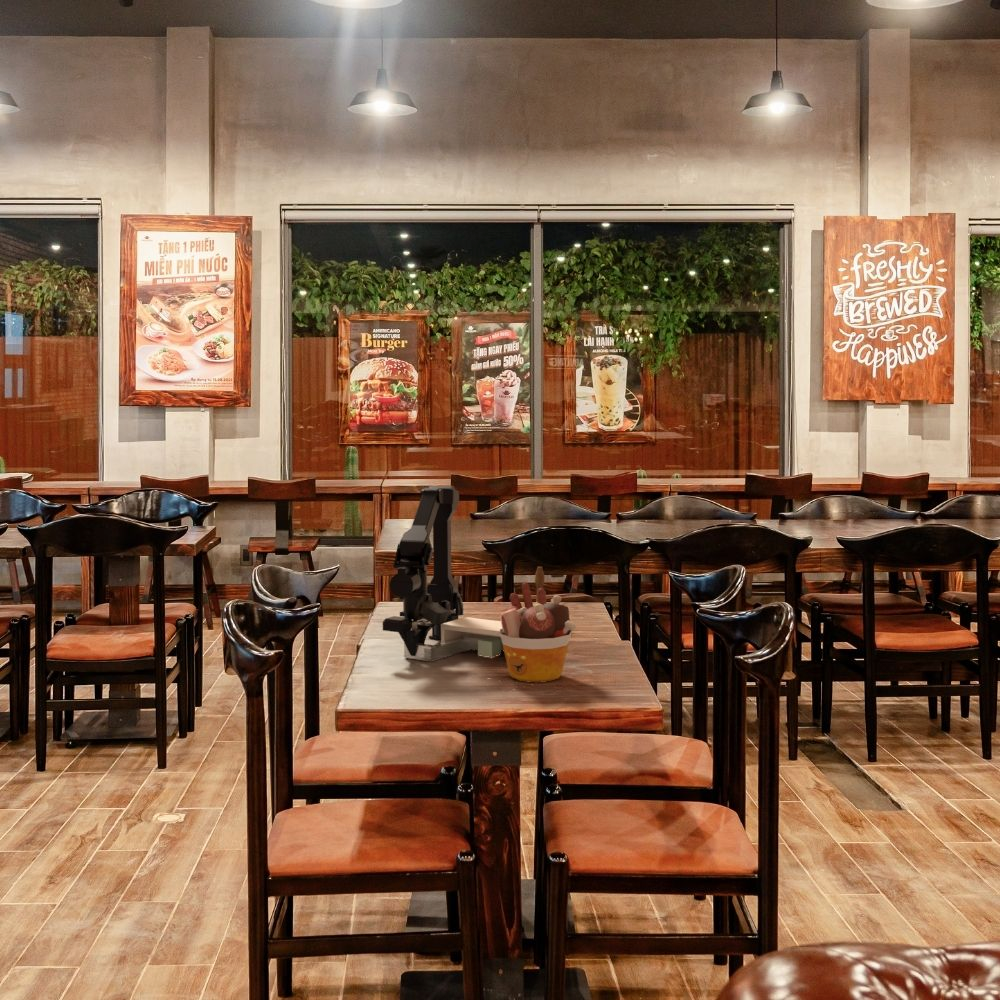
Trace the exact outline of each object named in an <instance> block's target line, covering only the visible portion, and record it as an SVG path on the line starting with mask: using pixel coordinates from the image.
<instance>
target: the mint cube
mask: <svg viewBox="0 0 1000 1000" xmlns="http://www.w3.org/2000/svg"><path fill="white" fill-rule="evenodd" d="M499 654H501V655H502V651H501V639H496V638H488V637H487V638H484V639H481V640H478V651H477V656H478V655H482V656H489V657H493V656H496V655H499Z"/></svg>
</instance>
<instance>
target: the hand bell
mask: <svg viewBox="0 0 1000 1000" xmlns="http://www.w3.org/2000/svg"><path fill="white" fill-rule="evenodd" d="M534 583H535V586H536V592H537V591H538V589H540V588H543V589H544V586H545V585H544V584H545V573H544V570H543V566H537V568H536V571H535V575H534ZM536 604H538V598H537V597H536V602H534V603H533V607H535V605H536Z"/></svg>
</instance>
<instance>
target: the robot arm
mask: <svg viewBox="0 0 1000 1000" xmlns="http://www.w3.org/2000/svg"><path fill="white" fill-rule="evenodd" d="M419 497H420V500H419V503H418V506H417V510H416V513H415V514H414V519H413V522H412V524H411V527H410V528H409V529H408V530H407V531H405V532H404V533H403V535H402V537H401V539H400V541H399V542H398V543H397V546H396V547H397V548H396V551H395V556H394V561H393V565H392V566H393V567H392V568H393V569H397V572H396V573H395V574H394V575H392V577H391V579H390V580H389V589H390V591H391V593H392V594H393V595H394V596H396V597H397V598H399V600H402V602H403V604H402V605H403V610H401V611H399V616H395V615H393V616H390V617H386V618H384V620H382V622H381V623H382V631H385V632H394V633H398V634H399V636H400V637H401V639H402V641H403V644H404V643H405V645H406V647H407V649H408V651H409V653H410V655H411V656H415V653H416V643H422V644H426V643H425V642H426V639H427V636H428V638H429V639H433V640H434V639H435V640H441V624H443V623H447V622H450V621H453V620H457V619H459V616H464V609H465V608H464V602H463V600H462V597H461V593H460V592H459V588H458V586H459V585H458V583H457V582H456V580H455V578H454V576H452V575H453V574H452V518H453V517H454V515H455V513H456V512H457V509H458V504H459V501H460V493H459V490H457V489H456V487H455V486H454V485H429V487H424V488H422V489H421V491H420V496H419ZM431 532H432V542H433V543H432V542H431V540H430V537H431ZM432 544H433V546H432ZM432 557H433V560H432ZM431 560H432V561H433V564H432V565H433V567H432V568H433V577H432V579H431V580H430V582H429V583H428V571H427V569H428V566H430V563H431ZM430 630H431V635H428V634H429V632H430Z"/></svg>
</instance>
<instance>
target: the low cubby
mask: <svg viewBox="0 0 1000 1000" xmlns="http://www.w3.org/2000/svg"><path fill="white" fill-rule="evenodd" d="M500 629H502V624H501V620H493V619H487V618H486V619H484V618H478V617H477V618H475V617H467V616H464V617H460V618H458V619H457V620H453V621H450V622H447V623H443V624H441V639H440V643H444V642H447V641H451V640H454V639H458V638H461V637H465V636H475V637H483V638H487V637H488V638H496V639H501V636H500ZM501 650H504V648H503V643H502V639H501Z"/></svg>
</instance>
